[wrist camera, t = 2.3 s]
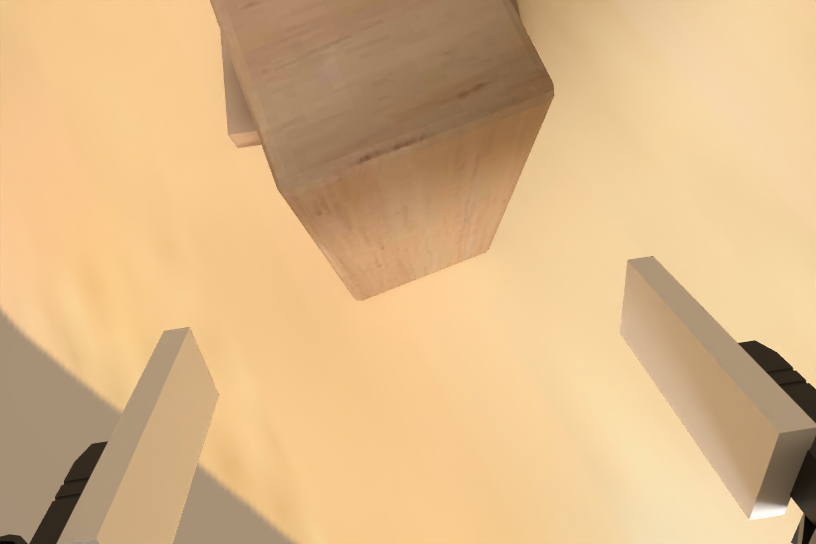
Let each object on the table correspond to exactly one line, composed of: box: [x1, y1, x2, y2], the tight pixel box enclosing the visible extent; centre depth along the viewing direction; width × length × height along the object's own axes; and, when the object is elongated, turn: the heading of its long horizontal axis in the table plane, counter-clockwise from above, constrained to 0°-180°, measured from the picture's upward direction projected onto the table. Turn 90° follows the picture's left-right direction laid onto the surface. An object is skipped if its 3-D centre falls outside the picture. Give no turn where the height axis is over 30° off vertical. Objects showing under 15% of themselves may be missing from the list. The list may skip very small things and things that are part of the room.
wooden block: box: [210, 0, 554, 300], centre depth 28 cm, size 10×10×20 cm
